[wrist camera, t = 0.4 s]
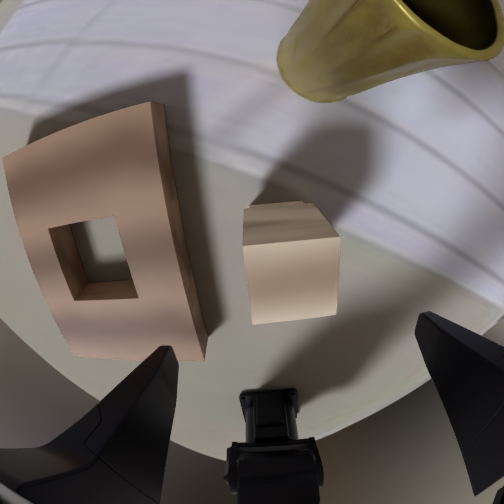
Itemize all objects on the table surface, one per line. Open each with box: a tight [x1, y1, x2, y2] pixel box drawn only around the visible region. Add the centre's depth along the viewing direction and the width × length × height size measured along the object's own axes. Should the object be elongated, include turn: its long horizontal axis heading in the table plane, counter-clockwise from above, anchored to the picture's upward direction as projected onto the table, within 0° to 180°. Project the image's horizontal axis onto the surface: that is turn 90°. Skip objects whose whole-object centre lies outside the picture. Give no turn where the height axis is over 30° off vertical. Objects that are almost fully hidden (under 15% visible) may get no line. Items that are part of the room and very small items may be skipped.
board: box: [3, 101, 208, 361], centre depth 20 cm, size 20×14×3 cm
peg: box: [243, 201, 340, 324], centre depth 17 cm, size 4×4×8 cm
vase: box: [277, 0, 504, 103], centre depth 9 cm, size 6×6×14 cm
